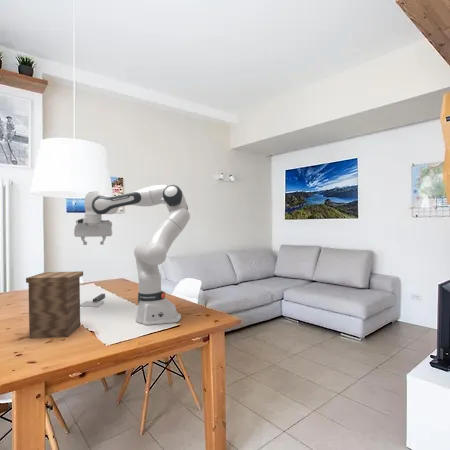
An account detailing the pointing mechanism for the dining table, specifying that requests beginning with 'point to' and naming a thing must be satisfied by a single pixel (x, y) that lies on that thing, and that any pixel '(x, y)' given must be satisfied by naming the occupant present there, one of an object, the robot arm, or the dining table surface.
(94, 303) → the turner
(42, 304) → the stand
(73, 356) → the dining table surface
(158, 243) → the robot arm
